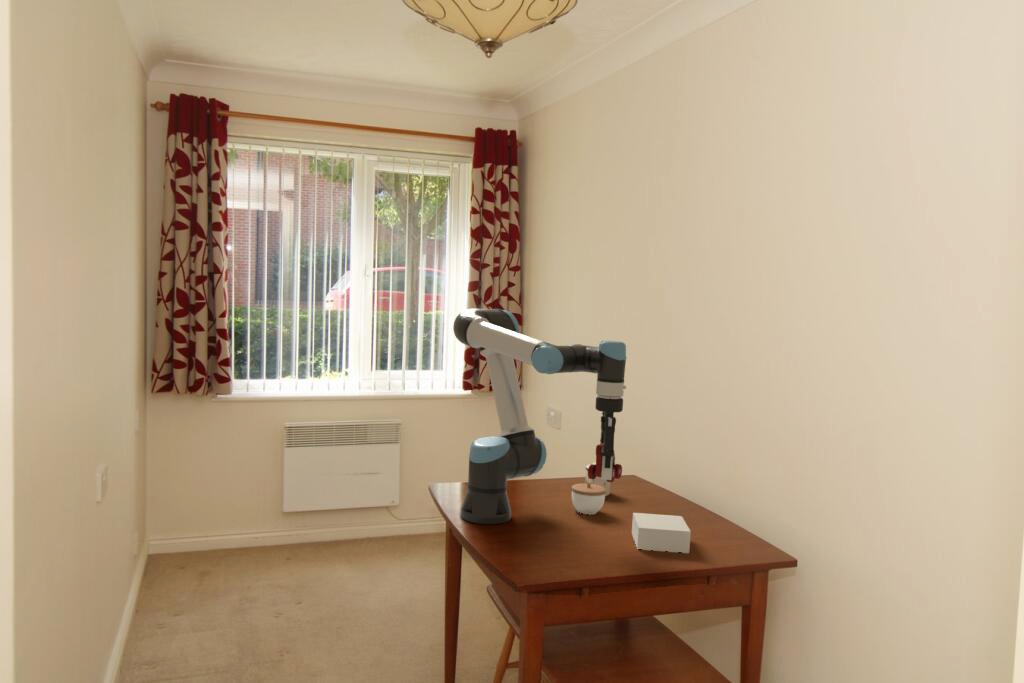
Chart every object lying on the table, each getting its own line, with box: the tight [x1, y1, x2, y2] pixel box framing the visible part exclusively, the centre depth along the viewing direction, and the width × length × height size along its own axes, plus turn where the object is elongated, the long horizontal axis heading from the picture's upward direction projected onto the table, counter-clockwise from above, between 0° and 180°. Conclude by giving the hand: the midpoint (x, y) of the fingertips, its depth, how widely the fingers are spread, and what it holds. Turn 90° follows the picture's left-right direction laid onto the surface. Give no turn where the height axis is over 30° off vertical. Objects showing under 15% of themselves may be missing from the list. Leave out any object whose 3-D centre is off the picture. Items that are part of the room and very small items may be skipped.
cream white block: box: [631, 512, 692, 554], centre depth 210 cm, size 14×14×6 cm
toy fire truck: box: [588, 442, 623, 483], centre depth 209 cm, size 7×12×10 cm, turn 152°
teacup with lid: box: [584, 461, 612, 497], centre depth 257 cm, size 12×9×12 cm
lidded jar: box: [571, 482, 606, 516], centre depth 235 cm, size 11×11×9 cm
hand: (605, 474), depth 209 cm, fingers closed on toy fire truck, 11 cm apart
